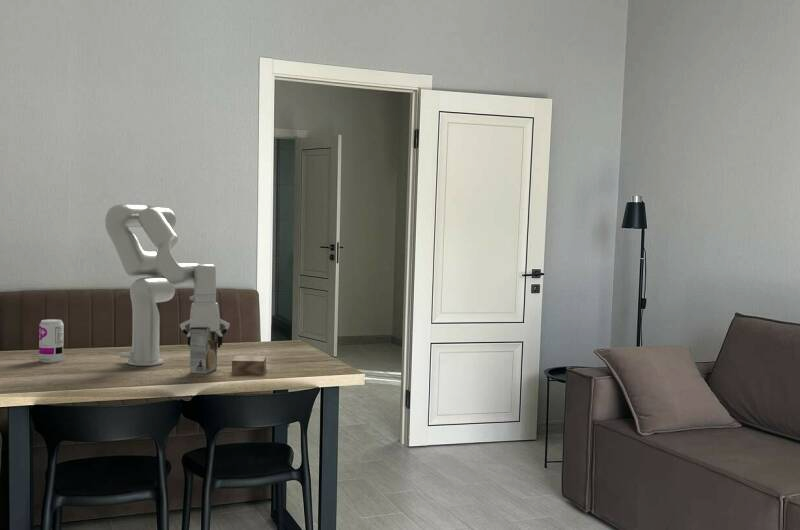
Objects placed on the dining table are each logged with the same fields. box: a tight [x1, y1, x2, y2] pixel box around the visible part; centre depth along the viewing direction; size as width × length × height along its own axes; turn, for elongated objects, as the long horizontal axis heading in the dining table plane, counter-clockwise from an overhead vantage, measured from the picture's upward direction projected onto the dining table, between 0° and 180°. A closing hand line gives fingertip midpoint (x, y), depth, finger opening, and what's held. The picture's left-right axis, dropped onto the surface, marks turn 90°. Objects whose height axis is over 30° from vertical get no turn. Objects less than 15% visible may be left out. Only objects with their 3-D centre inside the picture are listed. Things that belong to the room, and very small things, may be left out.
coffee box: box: [189, 327, 218, 375], centre depth 287 cm, size 9×6×16 cm
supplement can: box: [38, 318, 65, 364], centre depth 297 cm, size 8×8×15 cm
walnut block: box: [231, 355, 267, 375], centre depth 290 cm, size 11×11×5 cm
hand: (205, 347), depth 287 cm, fingers open, 9 cm apart
